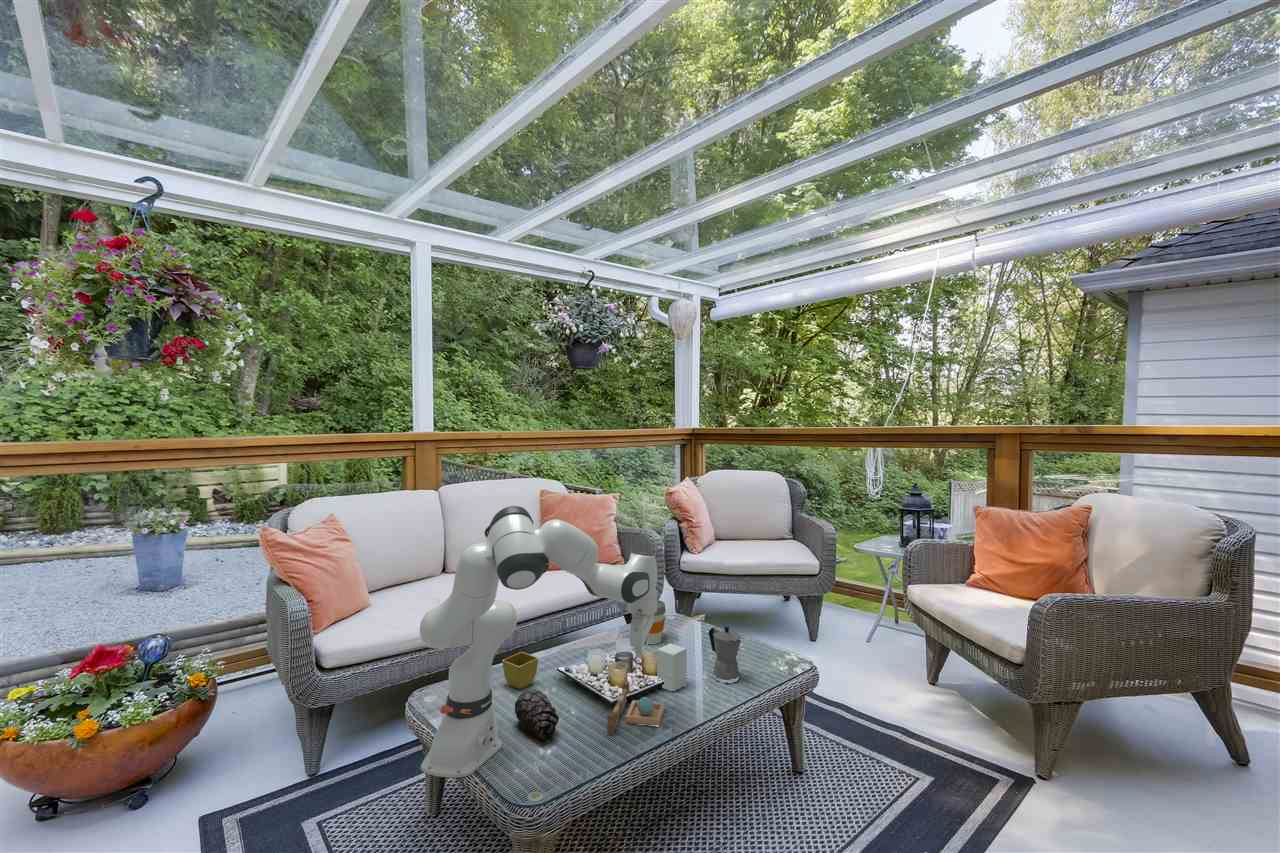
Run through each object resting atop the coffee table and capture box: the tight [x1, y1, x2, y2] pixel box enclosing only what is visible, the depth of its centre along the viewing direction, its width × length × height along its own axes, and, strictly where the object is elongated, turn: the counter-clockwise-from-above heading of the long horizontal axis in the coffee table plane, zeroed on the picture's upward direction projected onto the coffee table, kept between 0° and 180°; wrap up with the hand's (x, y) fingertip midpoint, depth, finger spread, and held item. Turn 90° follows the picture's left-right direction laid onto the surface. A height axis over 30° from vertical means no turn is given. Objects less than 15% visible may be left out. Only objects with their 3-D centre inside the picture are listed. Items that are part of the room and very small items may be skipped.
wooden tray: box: [625, 699, 665, 725], centre depth 179 cm, size 10×10×2 cm
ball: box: [637, 696, 655, 715], centre depth 179 cm, size 5×5×5 cm
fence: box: [606, 681, 630, 736], centre depth 179 cm, size 22×2×6 cm, turn 169°
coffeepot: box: [708, 626, 742, 680], centre depth 206 cm, size 15×9×18 cm, turn 36°
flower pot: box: [501, 651, 539, 690], centre depth 199 cm, size 9×9×9 cm
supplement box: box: [656, 643, 687, 692], centre depth 199 cm, size 7×7×13 cm
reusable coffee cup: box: [648, 599, 667, 644], centre depth 238 cm, size 13×13×15 cm
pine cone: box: [514, 689, 560, 746], centre depth 171 cm, size 10×18×10 cm, turn 42°
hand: (641, 650), depth 179 cm, fingers open, 8 cm apart
